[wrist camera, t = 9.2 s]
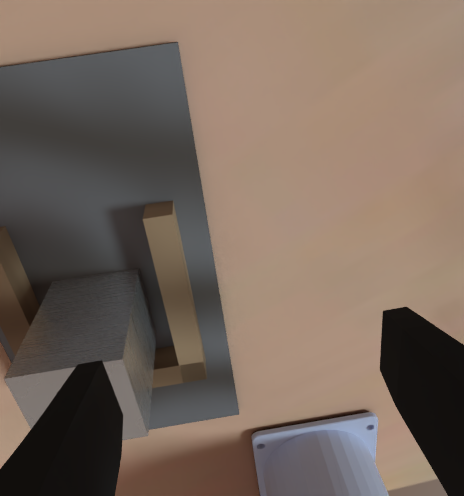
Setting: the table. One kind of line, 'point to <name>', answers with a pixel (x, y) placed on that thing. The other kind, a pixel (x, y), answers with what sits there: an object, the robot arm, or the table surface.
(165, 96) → the dock
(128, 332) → the aluminium block
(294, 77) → the table surface
